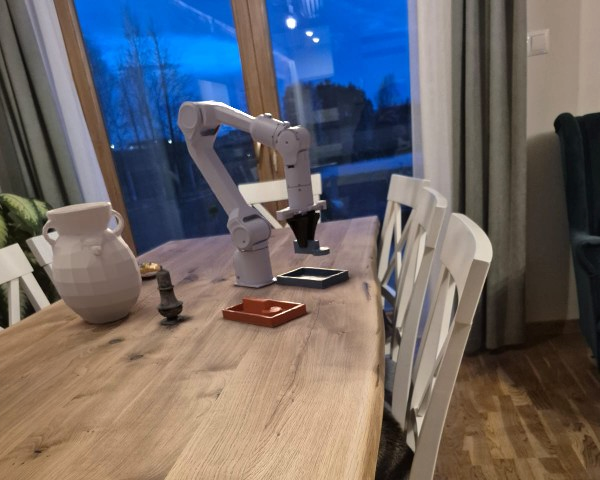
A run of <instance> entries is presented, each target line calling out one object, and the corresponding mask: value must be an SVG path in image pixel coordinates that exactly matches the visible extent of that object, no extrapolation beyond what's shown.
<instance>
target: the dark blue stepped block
mask: <svg viewBox="0 0 600 480" xmlns="http://www.w3.org/2000/svg"><path fill="white" fill-rule="evenodd" d="M307 241H308V242H307V247H306V248H299V245H298V242H297V240H296V239H294V240H292V243H293V250H294V254H300V255H312V256H313V257H323V256H328V255H330V253H331V251H330V250H331V249H330V247H329V246H321V245H320V240H319V239H314V240H307Z"/></svg>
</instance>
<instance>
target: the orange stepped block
mask: <svg viewBox="0 0 600 480" xmlns="http://www.w3.org/2000/svg"><path fill="white" fill-rule="evenodd" d="M261 298H262V297H257V298H255V297H254V296H245V297H243V298H241V303H242V302H243V308H244V312H247V313H253V314H258V315H263V316H268V317H272V316H275V315H277V314H280V313H282V309H281V308H280V307H271V305H270V300H268V299H269V298H264V299H261Z"/></svg>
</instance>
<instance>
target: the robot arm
mask: <svg viewBox="0 0 600 480" xmlns="http://www.w3.org/2000/svg"><path fill="white" fill-rule="evenodd" d="M222 125H225V126H228V127H232V128H234V129H237V130H240V131H244V132H245V133H249V134H250V136H251V139H252V140H253V141H254V142H255V143H259V144H261V145H264V146H266V147H269V148H271V149H273V150H276V151H277V152H278V154H280V156H281V158H282V163H283V169H284V176H285V177H284V178H285V185H286V193H287V200H288V201H287V202H288V207H285V208H283V209H280V210H277V211H275V215H276V221H285V222H286V224H287V225H288V226H289V228H290V229H291V231H292V233H293V236H294V237H295V240H297V242H298V245H299V248H306V247H307V242H308V241H307V240H315V237H316V231H317V227H318V224H319V220H320V218H321V213H320V212H319V211H323V210H327V209H328V208H327V200H315V201H314V193H313V183H312V182H313V181H312V173H311V164H310V156H309V151H310V149H311V147H312V142H313V141H312V135H311V133H310V131H309V130H308V129H307V128H306V127H304V126H303V125H296V126H293V127H292V125H291V122H290V121H281V120H279V119H275V118H273V114H271V113H268V112H267V113H266V112H265V113H264V114H259V115H257V116H256V117H254V116H252V115H250V114H247V113H245V112H243V111H241V110H239V109H236V108H233V107H231V106H229V105H227V104H225V103H223V102H218V101H215V100H205V101H189V100H188V101H184V102H183V103H182V104H181V105H180V107H179V109H178V115H177V127H179V129H180V131H181V132H182V134H183V136H184V140H185V144H186V148H187V151H188V154H189V155H190V157H191V158H192V160H193V162H194V163H195V165H196V167H197V168H198V170H199V171H200V173H201V175H202V176H203V178H204V180H205V181H206V183H207V184H208V186H209V188H210V189H211V191H212V193H213V194H214V195H215V197H216V198H217V201H218V202H219V204H220V205H221V206H222V208H223V210H224V212H225V214H226V215H227V217H228V219H227V222H226V228H227V229H228V231H229V234H230V238H231V241H232V243H233V245H234V246H235V247H236V248H237V249H236V250H235V251H234V252H233V256H232V264H233V271H234V275H235V281H236V282H234V286H239V287H247V288H255V289H259V288H262V287H265V286H268V285H270V284H273V283H277V278H276V277H275V276H273V268H272V263H271V255H270V249H269V244H270V243H269V240H270V238H271V237H272V233H273V232H272V230H273V229H272V226H271V223H270V221H269V220H268V219H266V218H265V217H264V216H262V215H261V213H260V212H259V210H258V209H256V208H254V207H252V205H249V204H248V202H247V201H246V199H245V198H244V196H243V195H242V193H241V191H240V190H239V188H238V186H237V185H236V183H235V182H234V180H233V178H232V177H231V175H230V174H229V171H228V170H227V168H226V167H225V166H224V164H223V162H222V160H221V159H220V157H219V156H218V154H217V152H216V150H215V149H214V144H215V141H216V140H217V139H216V138H217V136H218V134H219V131H220V129H221V127H222Z"/></svg>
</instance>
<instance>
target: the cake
mask: <svg viewBox="0 0 600 480" xmlns="http://www.w3.org/2000/svg"><path fill="white" fill-rule="evenodd" d="M126 244H127V243H126ZM127 245H128V246H129V244H127ZM137 263H138V266H139V268H140V273H141V275H142V277H145V276H146V274H147V273H155V272H156V273H157V271H159V270H160V268H159V267H160V265H159V264H158V263H154V262H149V263H147V262H138V261H137Z"/></svg>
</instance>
